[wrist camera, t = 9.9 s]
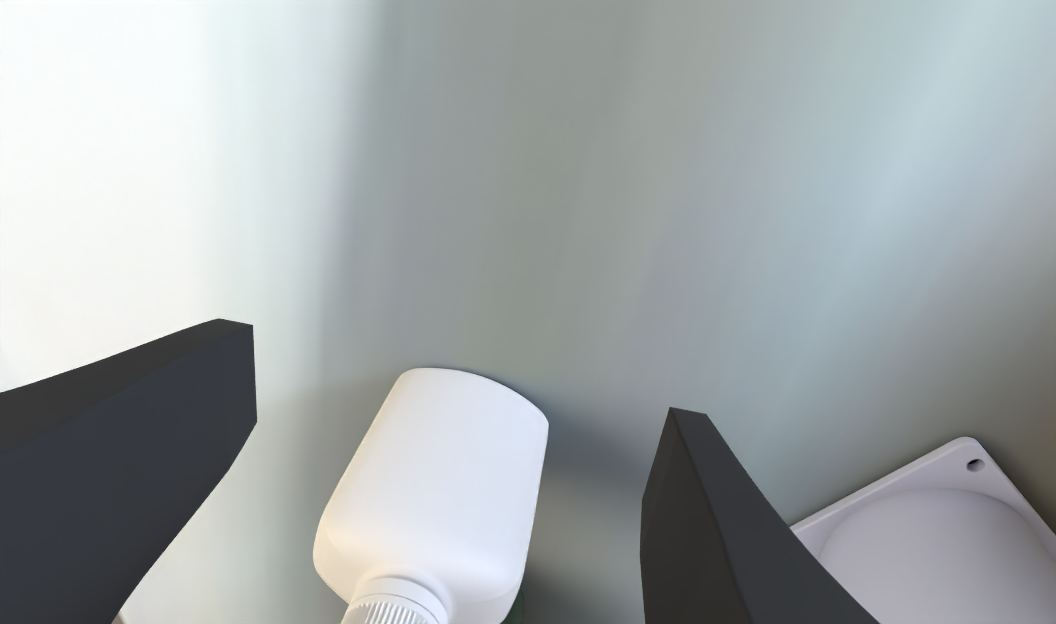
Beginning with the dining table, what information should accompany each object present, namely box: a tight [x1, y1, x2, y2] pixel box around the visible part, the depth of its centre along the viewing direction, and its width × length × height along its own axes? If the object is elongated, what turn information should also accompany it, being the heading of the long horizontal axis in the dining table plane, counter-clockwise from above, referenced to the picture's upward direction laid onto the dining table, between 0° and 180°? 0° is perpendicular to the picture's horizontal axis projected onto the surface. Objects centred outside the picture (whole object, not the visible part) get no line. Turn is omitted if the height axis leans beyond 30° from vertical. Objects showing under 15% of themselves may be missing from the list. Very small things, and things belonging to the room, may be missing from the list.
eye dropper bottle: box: [313, 368, 549, 624], centre depth 19 cm, size 4×6×12 cm
